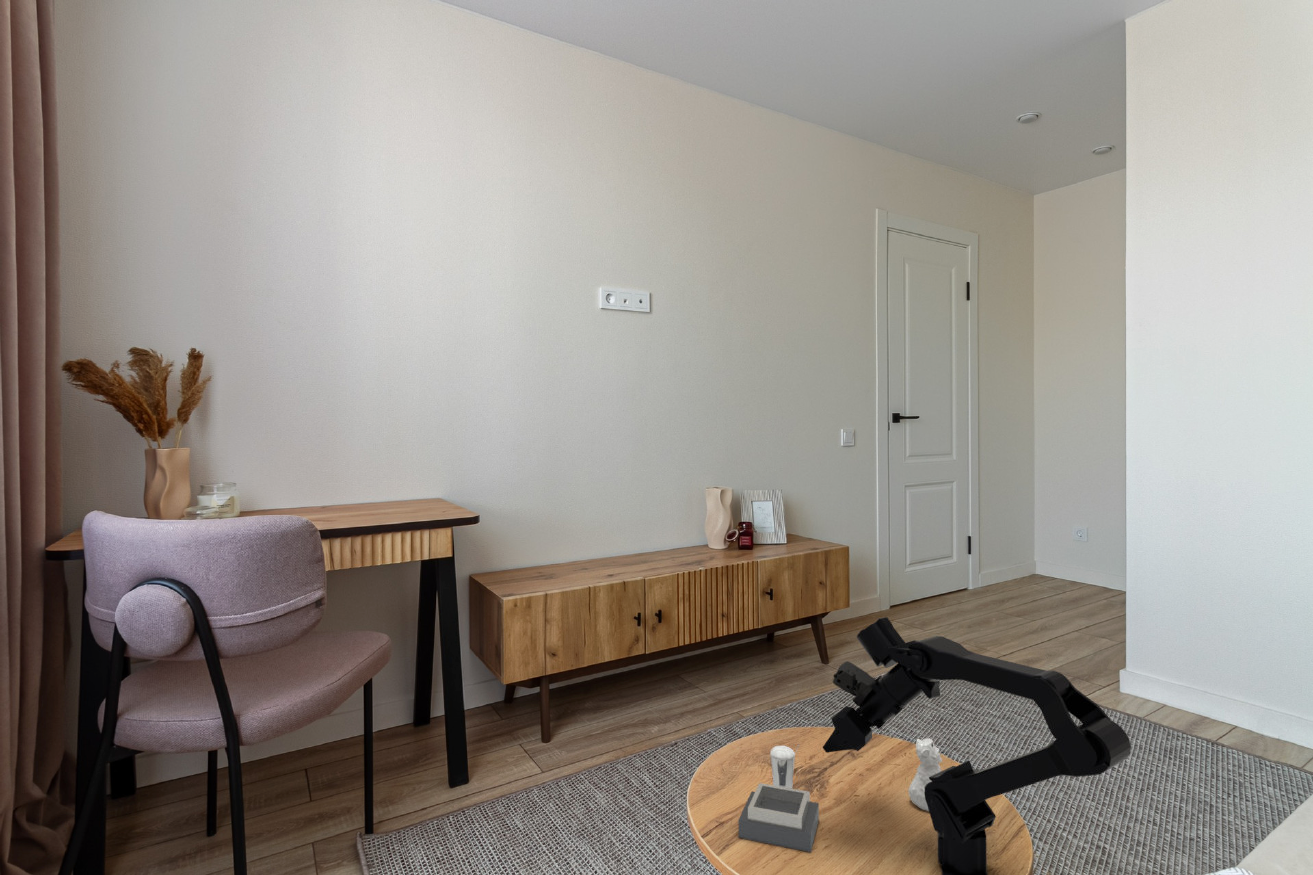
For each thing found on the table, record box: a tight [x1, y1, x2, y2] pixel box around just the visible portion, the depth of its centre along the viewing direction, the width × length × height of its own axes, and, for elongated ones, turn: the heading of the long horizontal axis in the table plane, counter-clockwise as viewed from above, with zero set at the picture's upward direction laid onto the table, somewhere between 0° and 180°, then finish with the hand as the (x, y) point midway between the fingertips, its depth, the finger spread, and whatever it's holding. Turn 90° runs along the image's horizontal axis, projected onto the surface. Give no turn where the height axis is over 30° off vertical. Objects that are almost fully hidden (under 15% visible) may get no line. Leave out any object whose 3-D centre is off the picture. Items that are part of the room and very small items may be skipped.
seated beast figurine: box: [907, 737, 943, 812], centre depth 126 cm, size 10×9×12 cm
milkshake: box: [770, 744, 800, 789], centre depth 129 cm, size 5×5×10 cm
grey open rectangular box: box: [738, 782, 820, 853], centre depth 119 cm, size 12×10×5 cm
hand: (834, 740), depth 123 cm, fingers open, 9 cm apart
